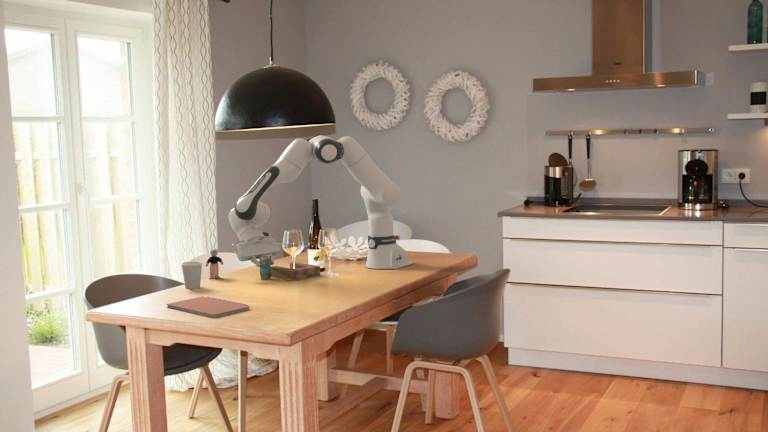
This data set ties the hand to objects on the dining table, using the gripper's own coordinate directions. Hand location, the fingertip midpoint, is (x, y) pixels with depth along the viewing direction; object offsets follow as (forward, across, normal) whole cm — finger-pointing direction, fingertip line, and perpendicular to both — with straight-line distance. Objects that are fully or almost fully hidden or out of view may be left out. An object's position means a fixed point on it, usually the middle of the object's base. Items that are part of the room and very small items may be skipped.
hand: (266, 265), depth 340 cm
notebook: (+24, -47, -15) cm, 55 cm away
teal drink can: (+4, 0, +5) cm, 6 cm away
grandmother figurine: (-9, -12, +18) cm, 24 cm away
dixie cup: (-2, -30, +10) cm, 32 cm away
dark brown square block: (+7, +12, +1) cm, 14 cm away
